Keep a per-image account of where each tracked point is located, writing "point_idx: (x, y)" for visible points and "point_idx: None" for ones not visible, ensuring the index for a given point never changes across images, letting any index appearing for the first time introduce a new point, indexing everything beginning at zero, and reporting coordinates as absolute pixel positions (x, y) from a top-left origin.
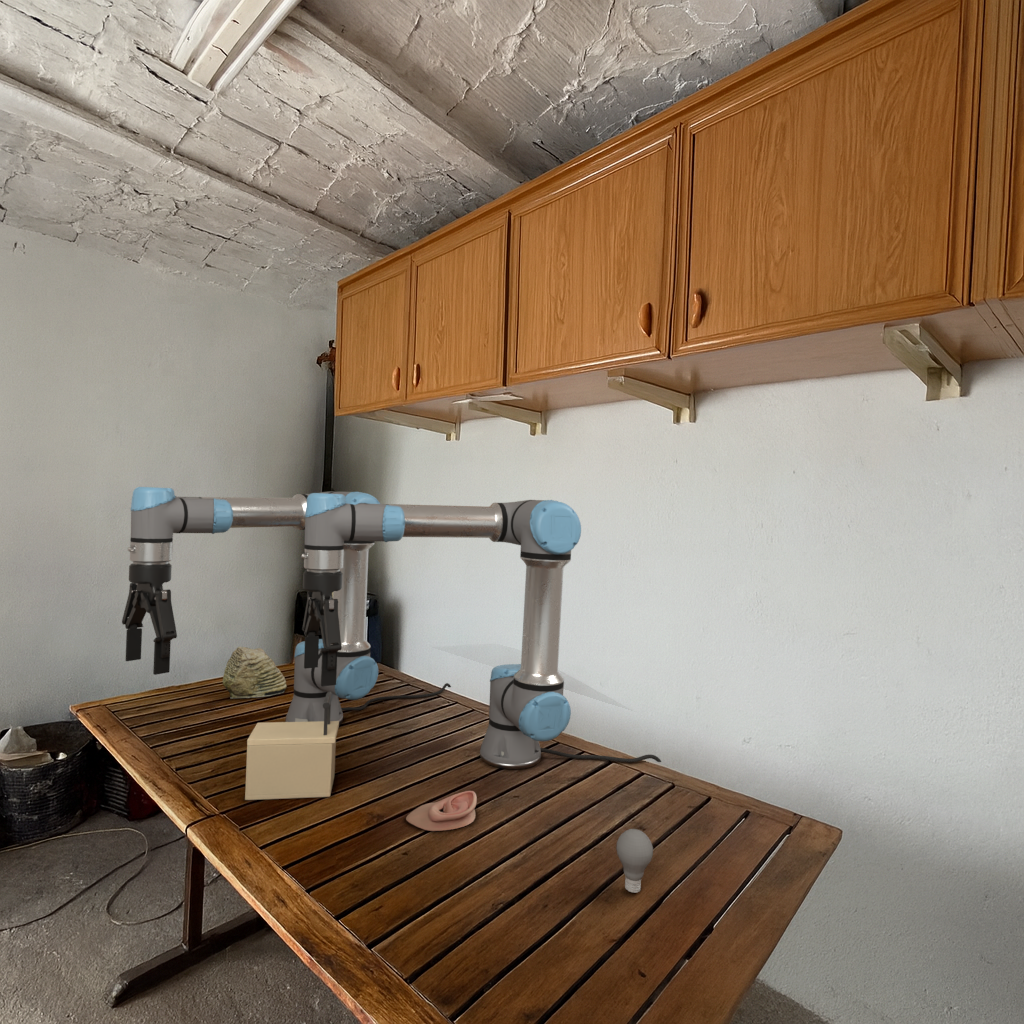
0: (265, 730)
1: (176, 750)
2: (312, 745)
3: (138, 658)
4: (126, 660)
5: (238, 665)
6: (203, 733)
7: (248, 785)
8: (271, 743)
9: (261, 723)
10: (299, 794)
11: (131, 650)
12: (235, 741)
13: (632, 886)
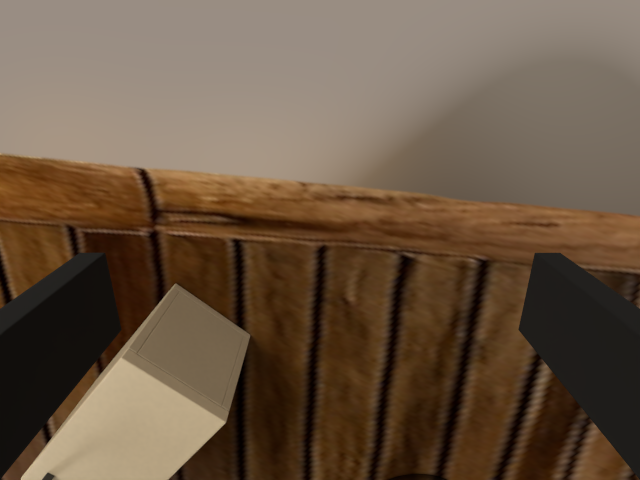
0: (157, 410)
1: (501, 296)
2: (54, 436)
3: (524, 320)
4: (544, 254)
5: None
6: (541, 367)
7: (162, 300)
8: (96, 386)
9: (213, 425)
10: (120, 350)
11: (572, 315)
12: (447, 388)
13: None
